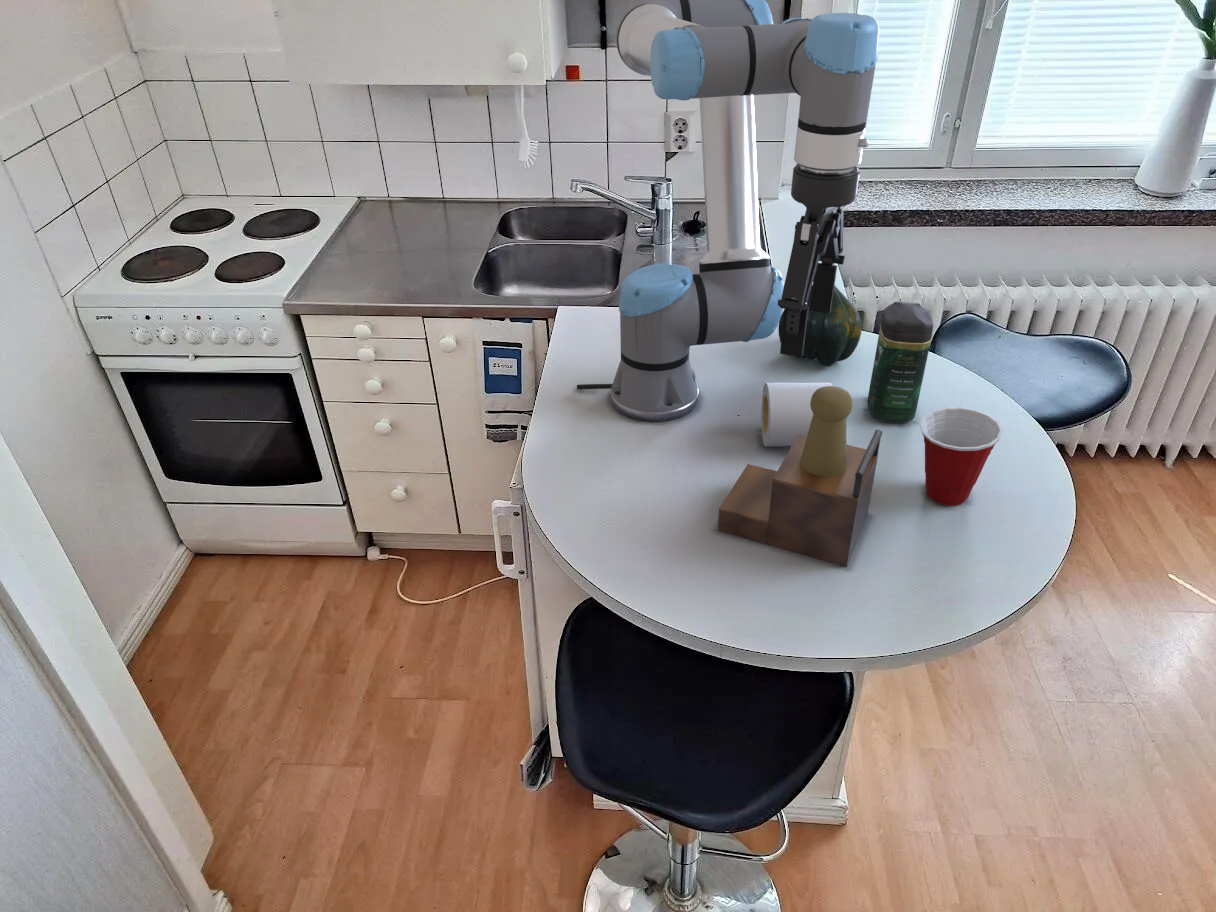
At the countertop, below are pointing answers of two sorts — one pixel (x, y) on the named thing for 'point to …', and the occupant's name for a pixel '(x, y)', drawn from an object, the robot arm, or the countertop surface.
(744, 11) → the robot arm
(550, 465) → the countertop surface
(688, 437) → the countertop surface
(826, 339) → the squash
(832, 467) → the pale yellow rounded piece
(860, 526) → the brown wooden stepped block
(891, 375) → the coffee jar
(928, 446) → the plastic cup
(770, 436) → the toilet paper
